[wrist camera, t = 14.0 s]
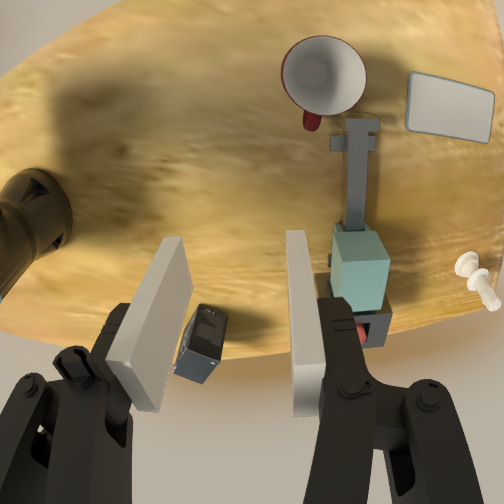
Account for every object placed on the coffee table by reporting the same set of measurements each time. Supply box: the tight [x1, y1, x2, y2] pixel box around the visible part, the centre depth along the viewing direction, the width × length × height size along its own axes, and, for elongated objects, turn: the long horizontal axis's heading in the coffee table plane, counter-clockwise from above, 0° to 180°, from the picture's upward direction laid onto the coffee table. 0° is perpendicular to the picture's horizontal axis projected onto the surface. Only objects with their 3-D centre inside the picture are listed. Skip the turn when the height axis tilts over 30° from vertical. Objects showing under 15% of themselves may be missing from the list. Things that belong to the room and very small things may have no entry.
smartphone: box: [405, 72, 495, 144], centre depth 35 cm, size 8×1×15 cm
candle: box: [455, 251, 502, 311], centre depth 43 cm, size 5×5×12 cm
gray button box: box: [314, 273, 393, 349], centre depth 47 cm, size 10×7×10 cm
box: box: [173, 304, 228, 384], centre depth 53 cm, size 8×6×11 cm
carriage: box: [330, 223, 391, 312], centre depth 42 cm, size 6×8×9 cm
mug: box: [281, 36, 367, 131], centre depth 31 cm, size 10×8×10 cm
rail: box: [328, 112, 380, 267], centre depth 41 cm, size 6×24×5 cm, turn 5°
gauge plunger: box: [356, 323, 366, 344], centre depth 44 cm, size 3×3×4 cm
